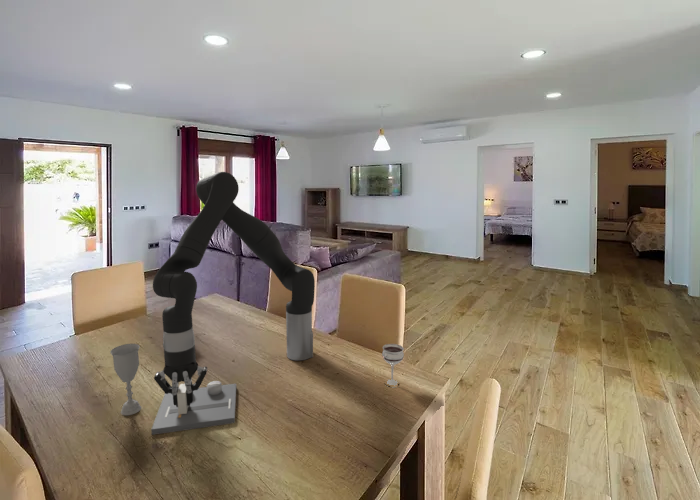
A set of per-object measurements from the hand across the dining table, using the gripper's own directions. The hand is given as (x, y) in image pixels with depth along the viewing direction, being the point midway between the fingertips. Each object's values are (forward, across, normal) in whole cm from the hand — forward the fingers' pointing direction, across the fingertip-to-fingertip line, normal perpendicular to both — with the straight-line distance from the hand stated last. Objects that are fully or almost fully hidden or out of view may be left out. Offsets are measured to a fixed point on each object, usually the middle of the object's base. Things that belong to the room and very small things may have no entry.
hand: (183, 404), depth 103 cm
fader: (+1, 0, 0) cm, 1 cm away
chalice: (+3, +15, -6) cm, 16 cm away
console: (+3, -3, -2) cm, 5 cm away
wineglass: (+3, -61, -2) cm, 62 cm away
